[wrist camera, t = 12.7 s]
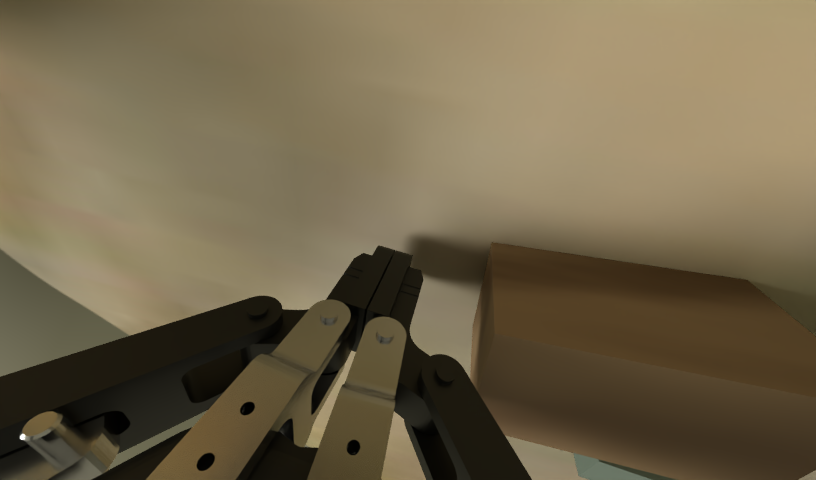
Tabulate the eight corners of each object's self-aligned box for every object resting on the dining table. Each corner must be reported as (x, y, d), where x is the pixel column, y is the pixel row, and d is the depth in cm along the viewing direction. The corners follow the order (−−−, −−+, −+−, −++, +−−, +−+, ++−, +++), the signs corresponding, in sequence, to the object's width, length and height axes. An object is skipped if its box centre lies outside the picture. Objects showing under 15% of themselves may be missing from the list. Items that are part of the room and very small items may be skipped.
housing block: (491, 240, 12) (494, 333, 8) (744, 277, 10) (913, 416, 6) (472, 323, 15) (468, 425, 11) (672, 362, 13) (758, 500, 9)
